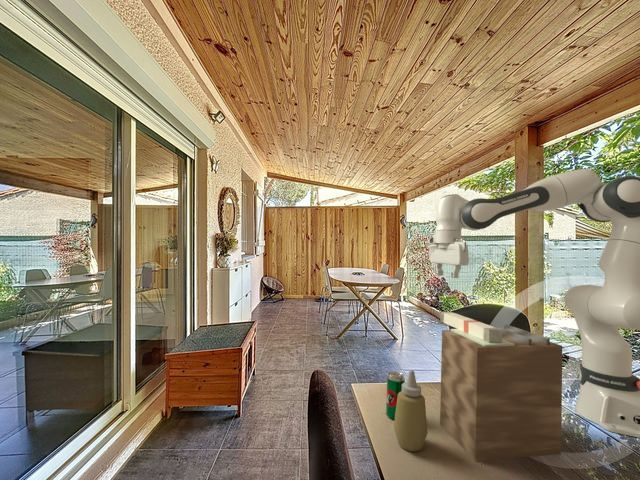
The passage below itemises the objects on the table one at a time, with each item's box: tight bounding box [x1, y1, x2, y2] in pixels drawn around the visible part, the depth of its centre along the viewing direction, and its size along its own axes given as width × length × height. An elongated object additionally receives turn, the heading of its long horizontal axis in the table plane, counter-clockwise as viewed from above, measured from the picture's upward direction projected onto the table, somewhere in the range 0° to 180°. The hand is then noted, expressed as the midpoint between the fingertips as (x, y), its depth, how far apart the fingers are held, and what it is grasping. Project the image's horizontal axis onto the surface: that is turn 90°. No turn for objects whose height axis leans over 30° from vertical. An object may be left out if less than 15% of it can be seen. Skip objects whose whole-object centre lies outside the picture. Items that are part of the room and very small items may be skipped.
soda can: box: [385, 371, 406, 420], centre depth 89 cm, size 5×5×12 cm
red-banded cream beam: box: [439, 311, 502, 342], centre depth 85 cm, size 22×4×3 cm, turn 9°
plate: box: [450, 328, 515, 346], centre depth 80 cm, size 14×8×1 cm, turn 9°
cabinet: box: [439, 323, 563, 462], centre depth 80 cm, size 15×23×28 cm, turn 99°
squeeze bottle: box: [393, 370, 428, 452], centre depth 76 cm, size 8×8×18 cm
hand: (447, 276), depth 112 cm, fingers open, 8 cm apart
